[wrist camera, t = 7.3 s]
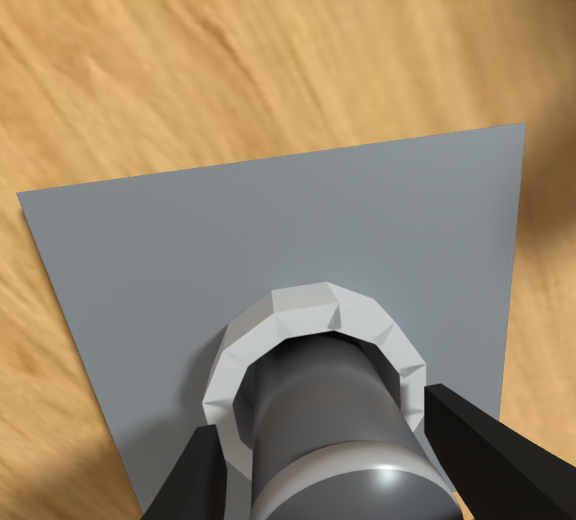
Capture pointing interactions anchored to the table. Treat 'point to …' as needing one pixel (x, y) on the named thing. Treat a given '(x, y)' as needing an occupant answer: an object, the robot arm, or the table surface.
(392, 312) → the plate
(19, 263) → the table surface
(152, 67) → the table surface
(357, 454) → the lens
